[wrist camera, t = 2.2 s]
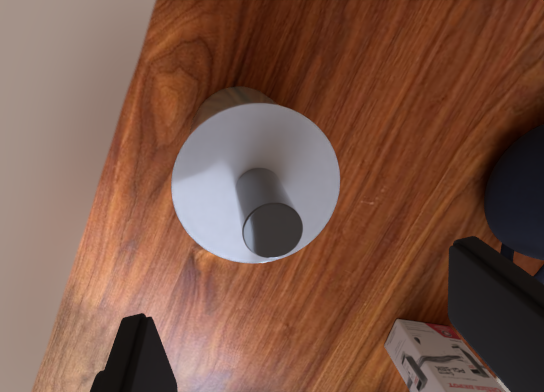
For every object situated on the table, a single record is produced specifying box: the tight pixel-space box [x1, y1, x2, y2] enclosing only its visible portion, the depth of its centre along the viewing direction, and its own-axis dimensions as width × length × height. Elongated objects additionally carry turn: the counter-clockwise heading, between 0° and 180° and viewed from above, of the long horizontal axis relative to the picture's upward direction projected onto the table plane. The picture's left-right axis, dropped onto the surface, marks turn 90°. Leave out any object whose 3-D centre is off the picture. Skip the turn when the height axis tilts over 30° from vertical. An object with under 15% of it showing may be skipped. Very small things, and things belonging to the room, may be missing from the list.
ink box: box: [384, 319, 506, 392], centre depth 44 cm, size 9×5×12 cm, turn 75°
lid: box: [171, 102, 340, 263], centre depth 20 cm, size 10×10×7 cm
